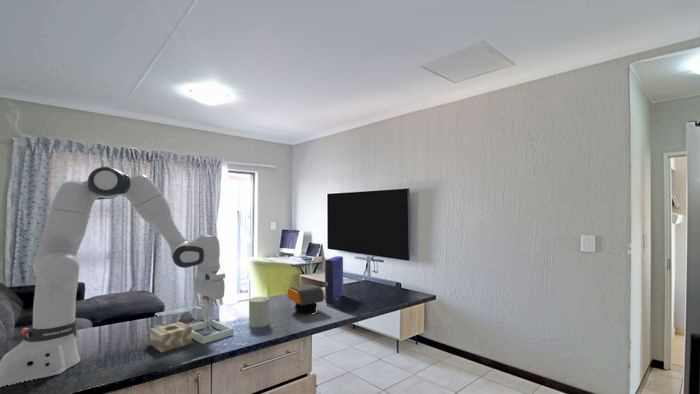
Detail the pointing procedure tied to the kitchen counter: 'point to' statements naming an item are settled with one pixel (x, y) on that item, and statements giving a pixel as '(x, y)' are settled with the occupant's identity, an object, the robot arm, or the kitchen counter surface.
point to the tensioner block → (170, 336)
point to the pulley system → (185, 318)
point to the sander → (306, 298)
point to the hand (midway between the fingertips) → (208, 306)
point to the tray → (208, 338)
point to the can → (258, 312)
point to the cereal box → (333, 278)
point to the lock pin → (207, 315)
